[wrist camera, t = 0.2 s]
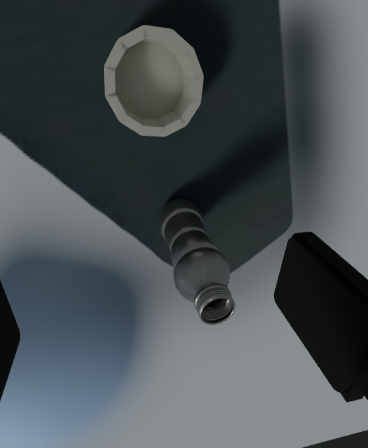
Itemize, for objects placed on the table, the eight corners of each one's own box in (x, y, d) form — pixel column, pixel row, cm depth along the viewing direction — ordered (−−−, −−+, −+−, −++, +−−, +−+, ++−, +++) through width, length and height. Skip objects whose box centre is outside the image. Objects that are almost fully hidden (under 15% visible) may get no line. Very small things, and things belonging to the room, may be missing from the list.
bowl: (103, 25, 30) (102, 19, 25) (193, 38, 32) (208, 34, 27) (107, 122, 35) (106, 133, 30) (185, 127, 37) (196, 138, 32)
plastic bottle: (203, 200, 44) (262, 290, 27) (186, 236, 46) (229, 338, 29) (165, 188, 41) (203, 278, 24) (150, 226, 44) (173, 331, 27)
